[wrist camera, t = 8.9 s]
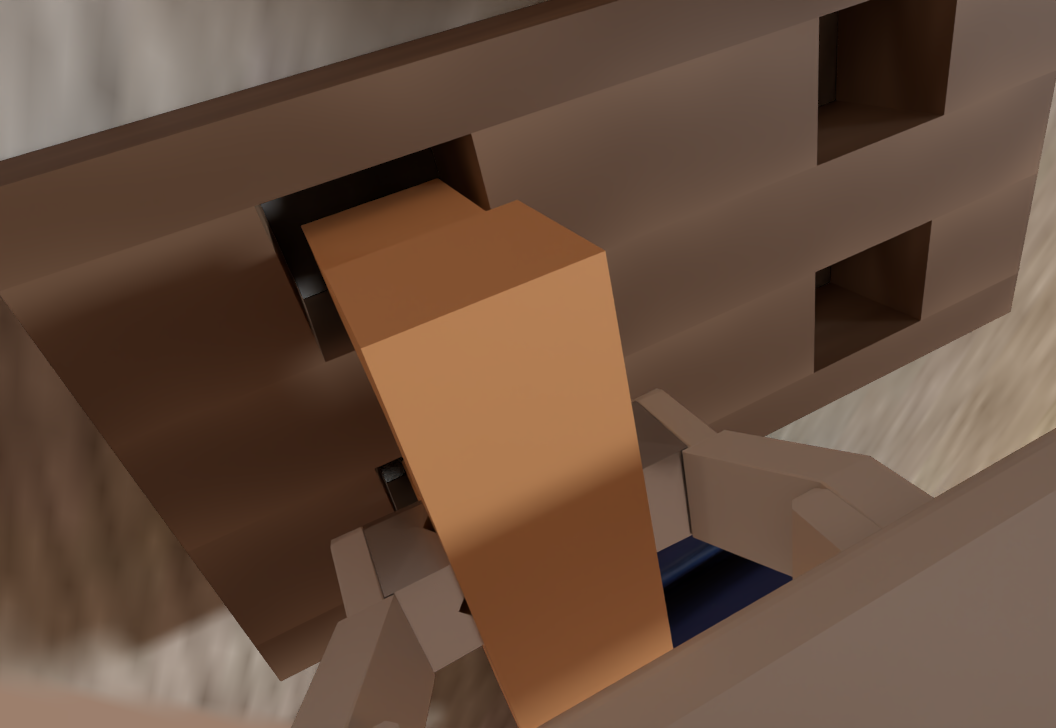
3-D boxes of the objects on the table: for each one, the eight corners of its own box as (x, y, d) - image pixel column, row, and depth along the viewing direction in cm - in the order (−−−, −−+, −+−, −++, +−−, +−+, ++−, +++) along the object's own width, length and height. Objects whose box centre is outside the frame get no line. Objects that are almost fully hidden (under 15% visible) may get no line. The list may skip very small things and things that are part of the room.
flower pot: (613, 756, 31) (805, 1102, 21) (520, 586, 23) (749, 1000, 13) (841, 600, 33) (1110, 847, 23) (822, 400, 25) (1204, 639, 16)
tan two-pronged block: (528, 484, 18) (682, 705, 12) (431, 530, 17) (545, 788, 11) (428, 148, 13) (606, 249, 7) (287, 195, 12) (360, 348, 7)
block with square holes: (-4, 162, 12) (-65, 206, 10) (957, -120, 18) (1099, -145, 15) (269, 580, 19) (280, 681, 16) (916, 277, 24) (1010, 311, 22)
